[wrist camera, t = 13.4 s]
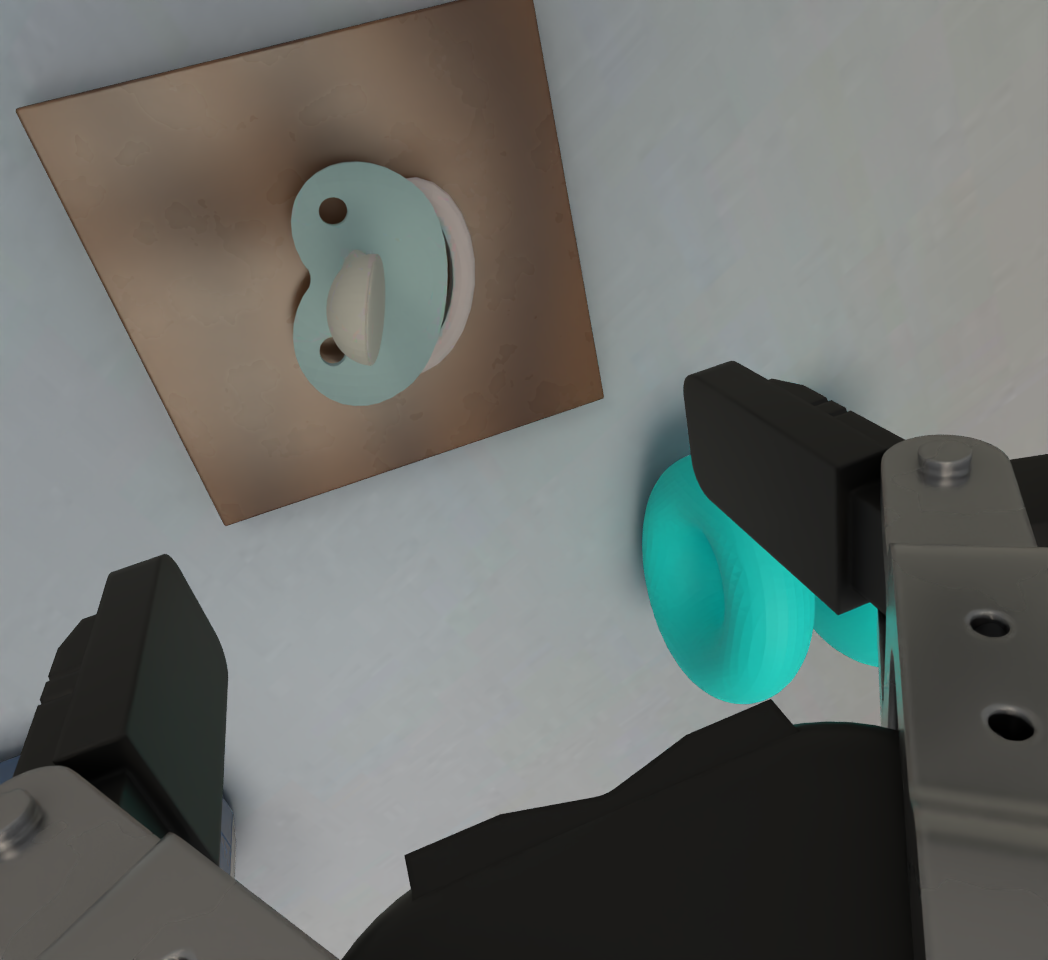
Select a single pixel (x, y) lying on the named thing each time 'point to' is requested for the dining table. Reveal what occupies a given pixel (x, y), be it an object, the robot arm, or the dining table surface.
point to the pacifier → (379, 280)
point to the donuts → (733, 598)
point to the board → (265, 223)
